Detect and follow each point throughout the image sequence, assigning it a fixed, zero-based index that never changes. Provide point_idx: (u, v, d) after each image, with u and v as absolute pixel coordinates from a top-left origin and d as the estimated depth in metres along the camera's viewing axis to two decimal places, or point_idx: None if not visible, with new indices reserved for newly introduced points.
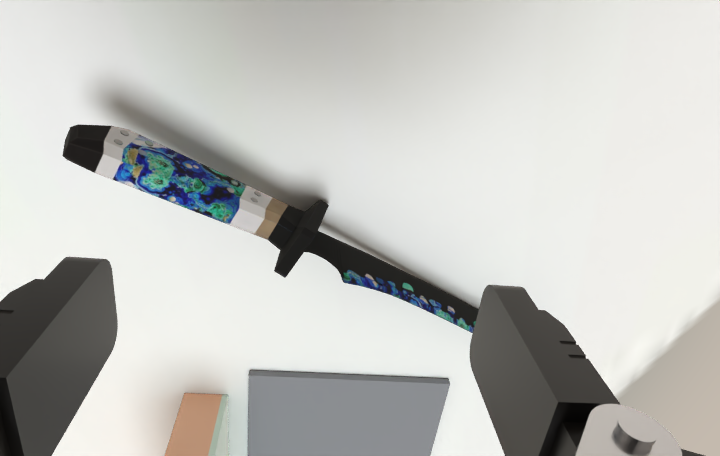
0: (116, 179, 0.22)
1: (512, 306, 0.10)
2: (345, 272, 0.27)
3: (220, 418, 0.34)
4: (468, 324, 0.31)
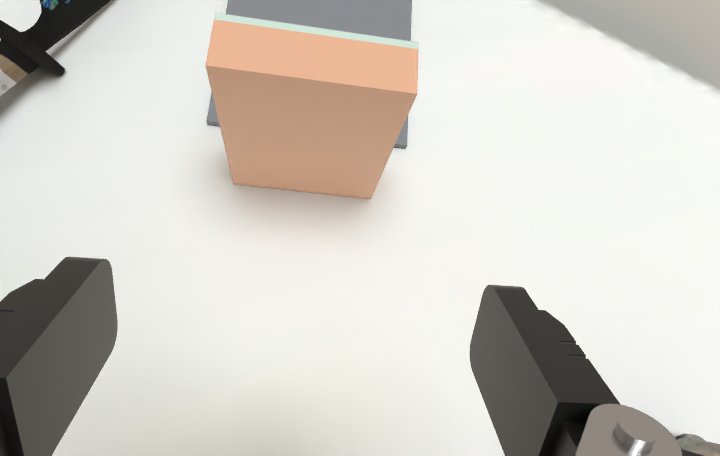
0: None
1: (512, 306, 0.10)
2: (44, 6, 0.35)
3: None
4: None
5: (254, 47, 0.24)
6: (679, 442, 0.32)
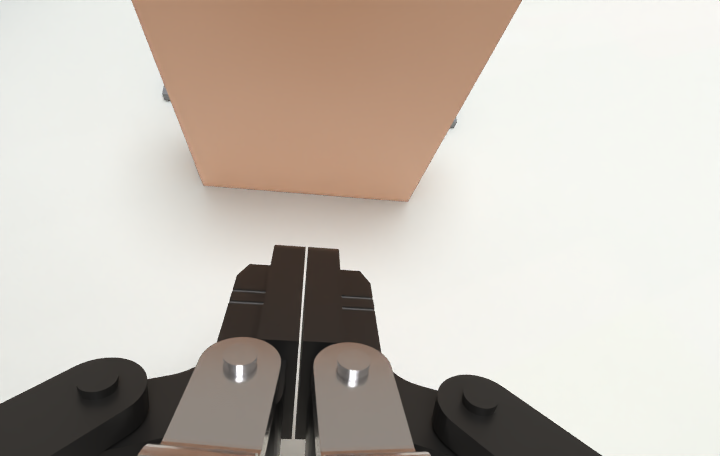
0: None
1: (316, 264, 0.11)
2: None
3: None
4: None
5: None
6: None
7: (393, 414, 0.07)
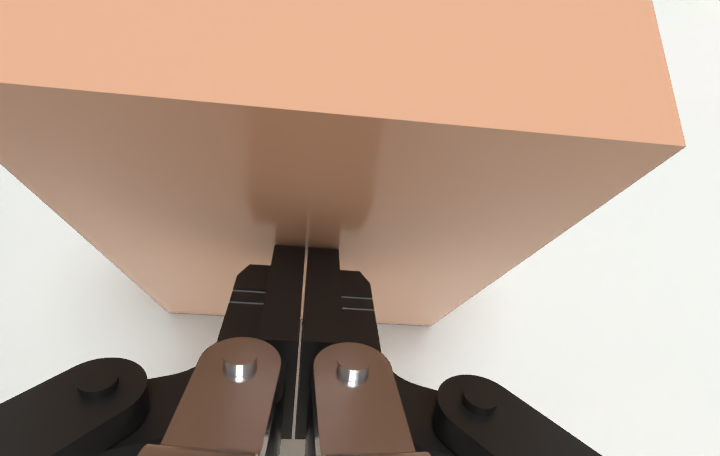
0: None
1: (316, 264, 0.11)
2: None
3: None
4: None
5: (105, 4, 0.07)
6: None
7: (393, 414, 0.07)
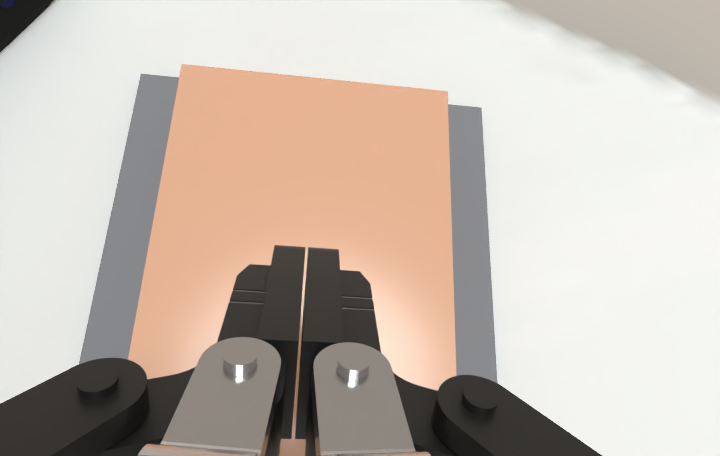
0: None
1: (316, 264, 0.11)
2: None
3: None
4: None
5: None
6: None
7: (393, 414, 0.07)
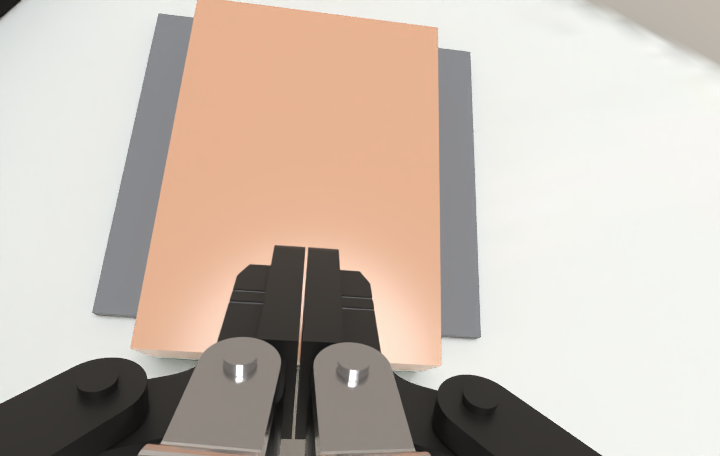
0: None
1: (315, 264, 0.11)
2: None
3: None
4: None
5: None
6: None
7: (393, 414, 0.07)
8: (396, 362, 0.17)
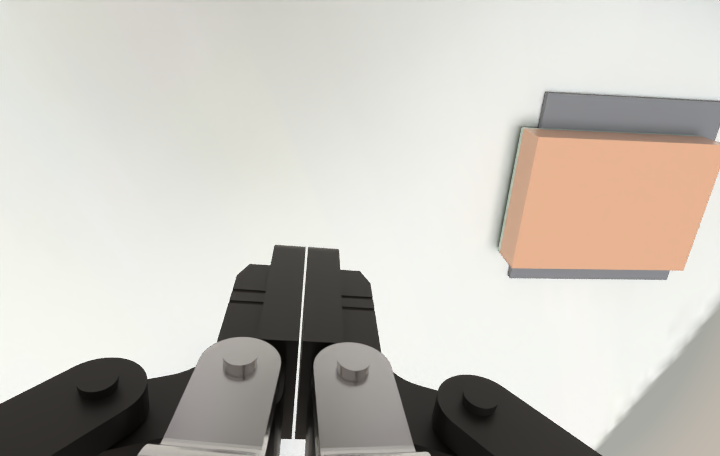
0: None
1: (315, 264, 0.11)
2: None
3: (549, 128, 0.37)
4: None
5: None
6: None
7: (393, 414, 0.07)
8: (515, 249, 0.38)
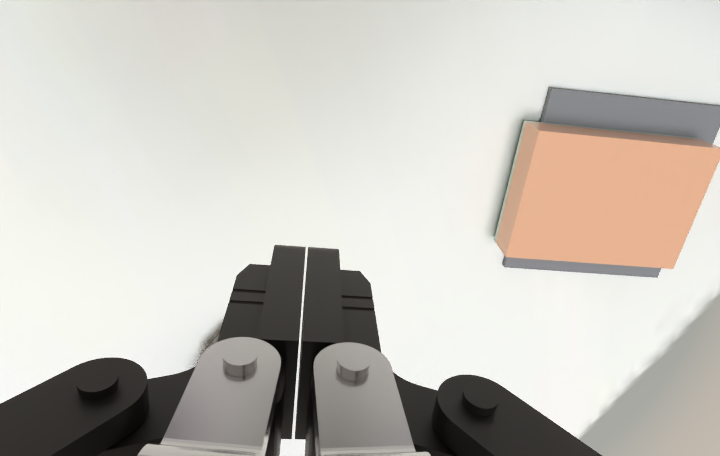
0: None
1: (315, 264, 0.11)
2: None
3: (551, 123, 0.38)
4: None
5: None
6: None
7: (393, 414, 0.07)
8: (510, 239, 0.39)
